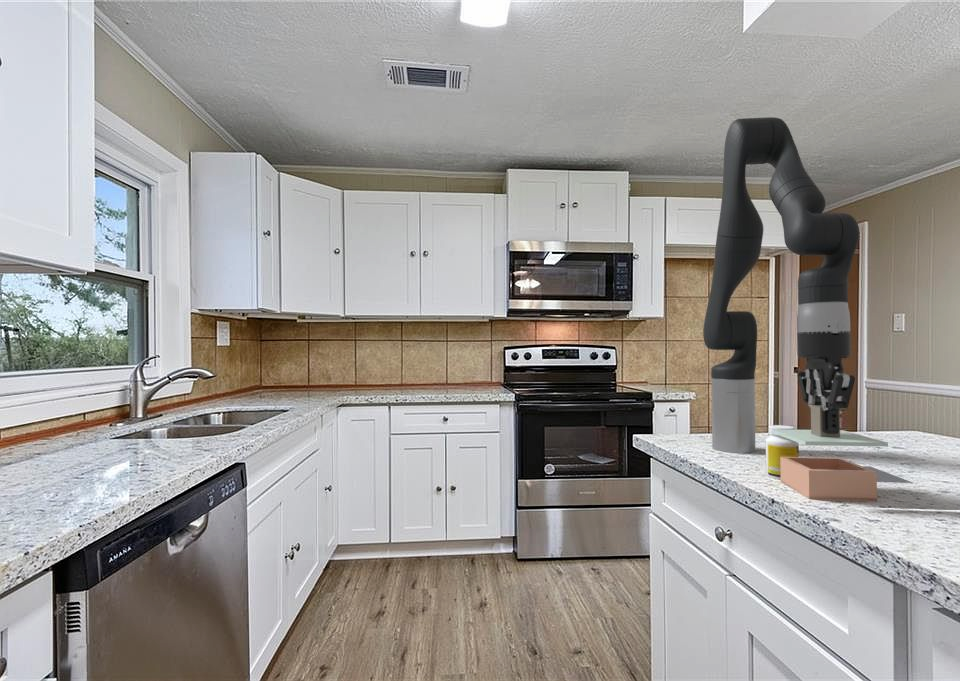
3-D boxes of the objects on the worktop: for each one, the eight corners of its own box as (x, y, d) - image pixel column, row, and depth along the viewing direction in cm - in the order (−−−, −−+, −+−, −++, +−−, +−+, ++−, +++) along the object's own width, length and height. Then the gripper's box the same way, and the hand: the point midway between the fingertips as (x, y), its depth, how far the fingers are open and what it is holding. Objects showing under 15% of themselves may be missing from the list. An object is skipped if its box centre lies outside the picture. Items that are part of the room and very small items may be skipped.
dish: (780, 484, 91) (780, 456, 91) (840, 485, 89) (840, 457, 89) (809, 501, 81) (808, 470, 81) (877, 503, 79) (876, 471, 80)
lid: (772, 432, 92) (771, 402, 92) (843, 433, 90) (842, 402, 90) (805, 445, 80) (804, 410, 80) (887, 446, 78) (887, 410, 78)
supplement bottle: (804, 483, 92) (803, 429, 92) (771, 481, 93) (771, 428, 93) (792, 475, 97) (791, 424, 97) (761, 474, 98) (760, 424, 98)
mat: (806, 467, 103) (806, 465, 103) (870, 468, 101) (870, 466, 101) (840, 482, 91) (840, 480, 91) (913, 484, 90) (913, 482, 90)
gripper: (780, 331, 93) (782, 425, 93) (821, 329, 79) (823, 438, 79) (824, 331, 92) (826, 425, 92) (873, 328, 78) (876, 439, 78)
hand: (825, 431), depth 85 cm, fingers closed on lid, 3 cm apart
